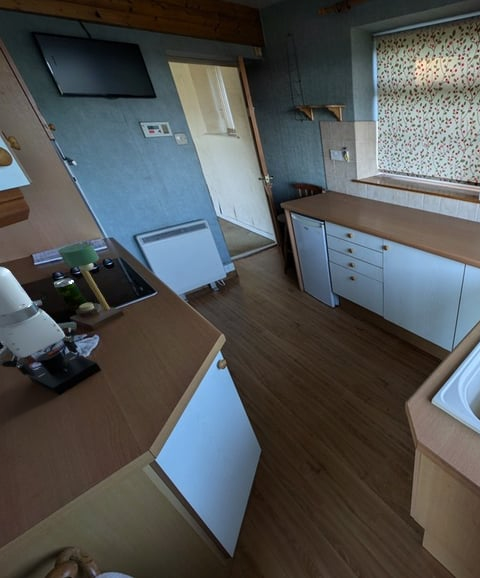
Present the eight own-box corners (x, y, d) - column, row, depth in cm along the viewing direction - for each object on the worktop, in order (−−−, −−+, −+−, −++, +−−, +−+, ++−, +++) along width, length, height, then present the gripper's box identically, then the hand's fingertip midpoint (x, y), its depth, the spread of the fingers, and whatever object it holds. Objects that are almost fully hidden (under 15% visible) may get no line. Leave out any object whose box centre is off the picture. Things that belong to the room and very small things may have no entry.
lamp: (93, 314, 105) (52, 250, 92) (117, 303, 111) (82, 241, 99) (107, 319, 102) (67, 254, 90) (131, 307, 109) (97, 244, 96)
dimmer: (33, 382, 83) (26, 374, 82) (75, 358, 91) (69, 351, 90) (59, 395, 79) (52, 387, 78) (101, 369, 87) (95, 362, 86)
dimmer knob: (53, 373, 82) (43, 361, 80) (43, 370, 83) (33, 357, 81) (71, 363, 86) (62, 350, 83) (62, 359, 87) (53, 347, 84)
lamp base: (72, 322, 108) (66, 313, 106) (102, 308, 116) (97, 299, 114) (94, 330, 104) (88, 321, 102) (124, 314, 112) (119, 306, 110)
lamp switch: (79, 310, 108) (77, 306, 107) (90, 305, 111) (88, 301, 110) (85, 312, 107) (83, 308, 106) (96, 307, 110) (94, 303, 109)
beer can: (76, 304, 118) (59, 278, 112) (91, 303, 119) (75, 277, 113) (67, 312, 114) (48, 285, 108) (82, 310, 114) (65, 284, 108)
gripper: (50, 294, 83) (81, 340, 92) (-44, 330, 69) (4, 380, 78) (65, 299, 81) (96, 346, 89) (-28, 337, 67) (19, 388, 76)
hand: (53, 362), depth 84 cm, fingers open, 9 cm apart
